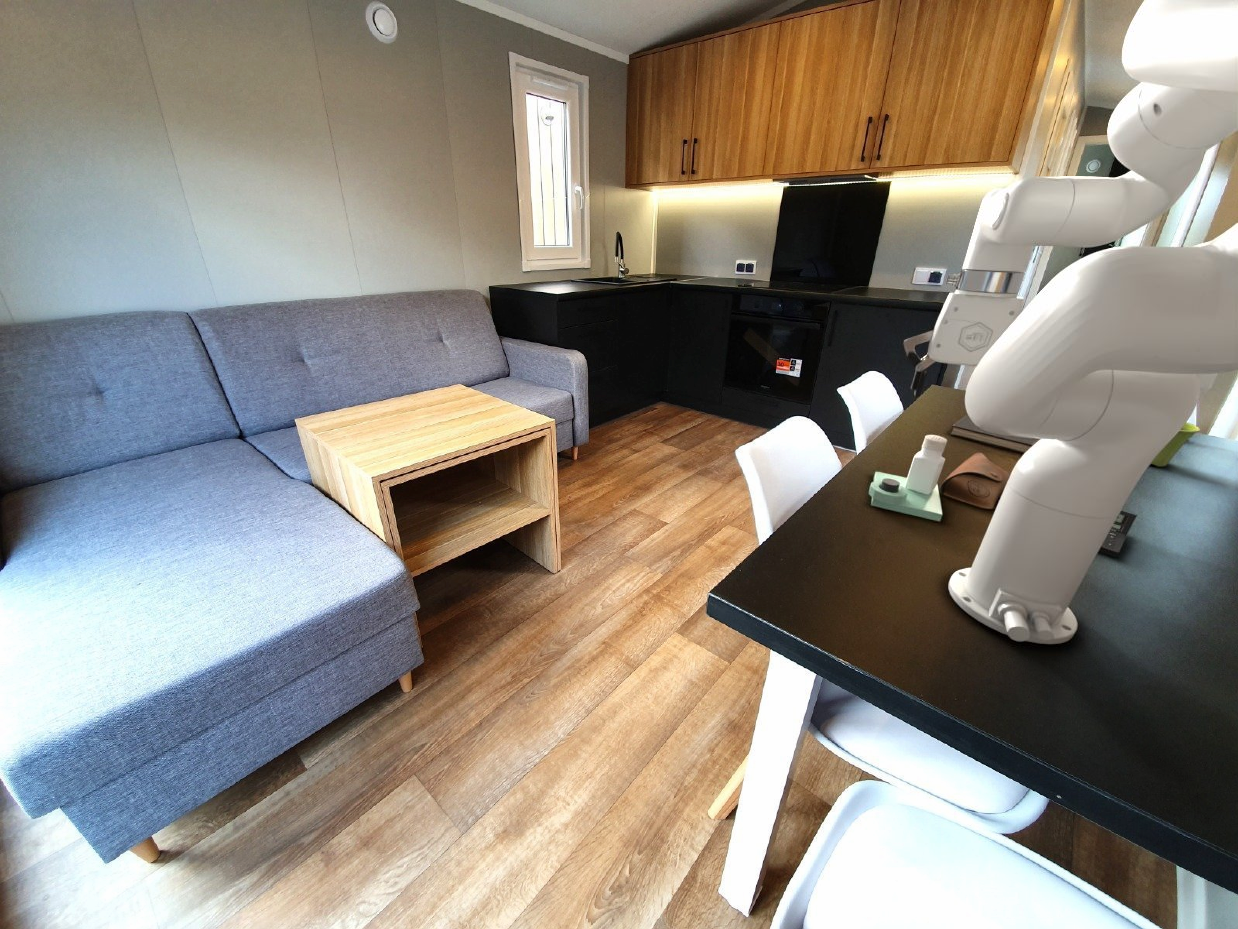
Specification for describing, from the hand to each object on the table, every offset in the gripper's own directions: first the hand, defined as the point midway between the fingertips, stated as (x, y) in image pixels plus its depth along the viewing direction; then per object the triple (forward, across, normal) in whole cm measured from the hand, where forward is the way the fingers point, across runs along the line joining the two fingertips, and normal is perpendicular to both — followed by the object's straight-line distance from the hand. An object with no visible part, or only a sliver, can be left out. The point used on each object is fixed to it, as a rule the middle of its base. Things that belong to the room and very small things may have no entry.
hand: (951, 399), depth 77 cm
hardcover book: (+17, +19, +48) cm, 54 cm away
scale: (+18, -2, -1) cm, 18 cm away
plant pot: (+17, +44, +45) cm, 65 cm away
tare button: (+15, -5, -5) cm, 17 cm away
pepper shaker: (+16, 0, +1) cm, 17 cm away
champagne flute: (+17, +54, +68) cm, 88 cm away
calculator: (+18, +23, +2) cm, 29 cm away
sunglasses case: (+18, +10, +11) cm, 23 cm away
